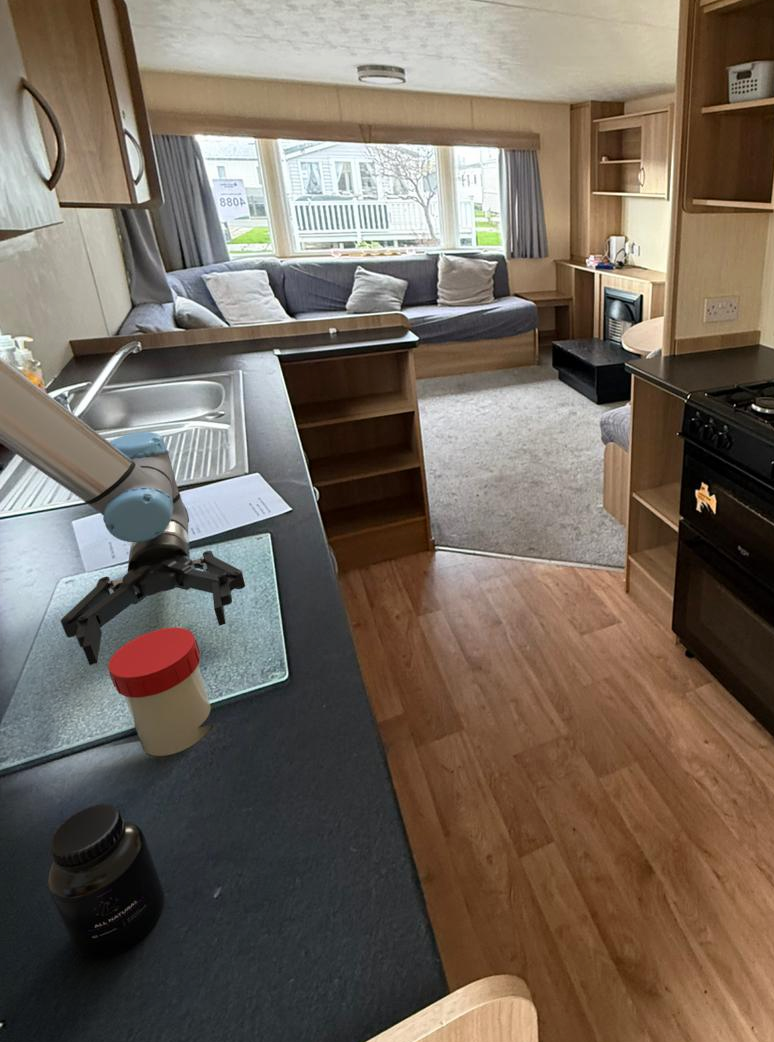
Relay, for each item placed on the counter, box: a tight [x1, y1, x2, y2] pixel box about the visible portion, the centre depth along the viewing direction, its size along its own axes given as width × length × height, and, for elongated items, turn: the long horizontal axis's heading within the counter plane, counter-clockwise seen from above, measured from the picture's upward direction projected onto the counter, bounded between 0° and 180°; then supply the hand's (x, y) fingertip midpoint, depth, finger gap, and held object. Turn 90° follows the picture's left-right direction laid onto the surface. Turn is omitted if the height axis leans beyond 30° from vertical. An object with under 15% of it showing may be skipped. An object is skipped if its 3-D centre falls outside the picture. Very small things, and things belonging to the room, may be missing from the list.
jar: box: [123, 664, 213, 757], centre depth 77 cm, size 8×8×12 cm
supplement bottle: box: [46, 803, 165, 960], centre depth 57 cm, size 7×7×12 cm
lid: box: [108, 627, 201, 698], centre depth 75 cm, size 8×8×3 cm
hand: (157, 635), depth 80 cm, fingers open, 13 cm apart
